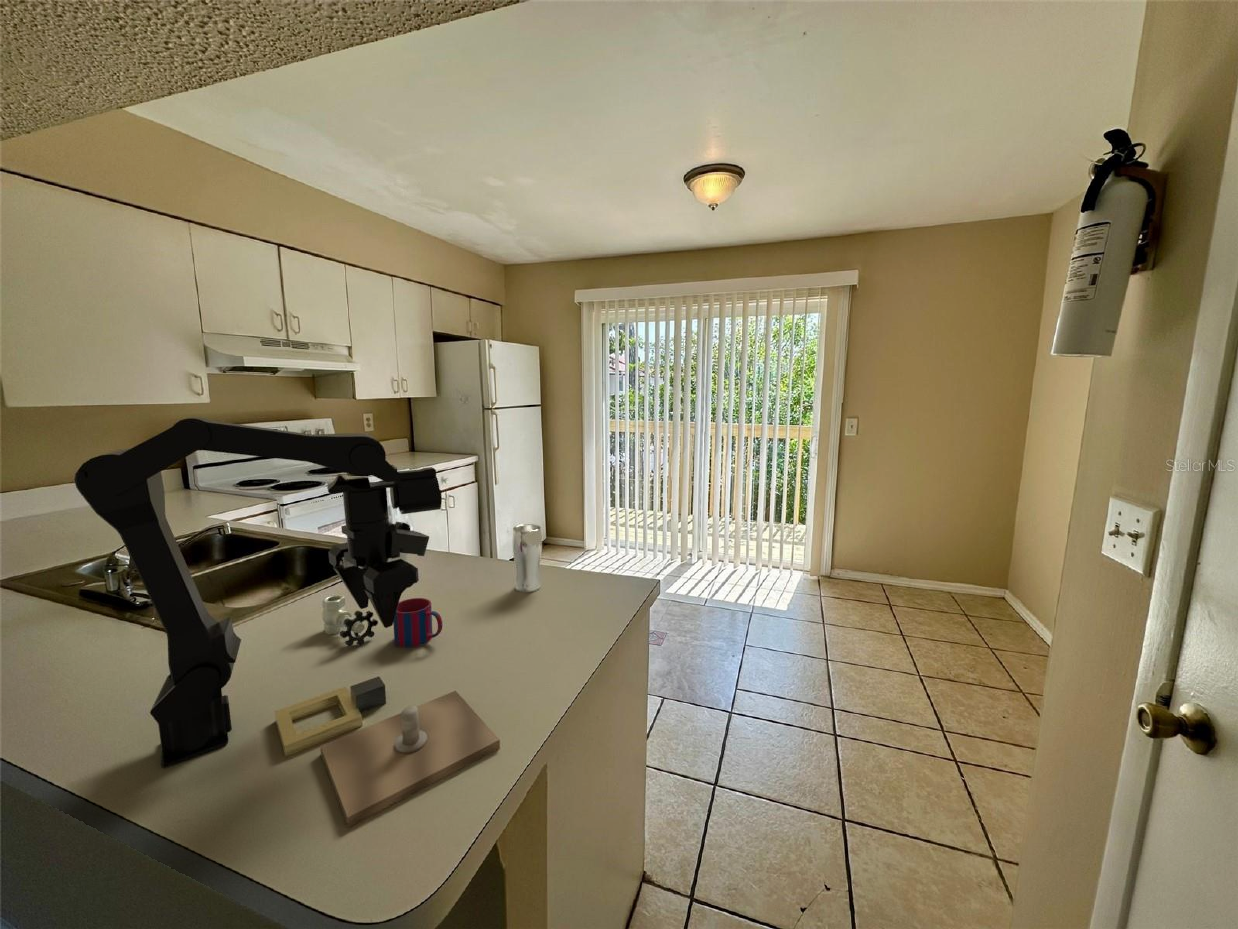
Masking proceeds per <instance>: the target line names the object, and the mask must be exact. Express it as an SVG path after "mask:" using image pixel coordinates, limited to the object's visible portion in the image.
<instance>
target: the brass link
mask: <svg viewBox="0 0 1238 929" xmlns="http://www.w3.org/2000/svg"><path fill="white" fill-rule="evenodd" d="M349 689H350V691H349ZM349 689H348V688H347V686H343V687H340V688H338V689H335V690H332V691H328V692H326V693H324V694H320V695H317V696H314V697H312V698H309V699H305V700H303V701H301V702H296V703H294V704H292V705H289V706H286V707H285V706H284V707H283V708H280V709H277V710H275V711H274V720H275V723H276V727H277V732H278V735H279V738H280V742H281V746H282V750H283V753H284V756H285V757H288V756H290V755H291V756H292V755H294V754H296V753H298V752H300V751H301V752H302V751H303V750H306V749H307V748H310V747H312V746H315V745H318V744H320V743H323V742H325V741H328V740H330V739H333V738H335V737H338V736H340V735H342V734H344V733H348V732H350V731H352V730H355V729H358V728H360V727H362V726H363V715H362V714H363V713H365V712H368V711H371V710H373V709H375V708H378V707H380V706H383V705H386V704H387V696H386V694H387V693H386V684H385V683H384V681H383V680H382V679H381V676H376V677H373V678H370V679H368V680H365V681H362V682H359V683H356V684H353V685H351V686H350V687H349ZM336 705H338V707H339V710H340V711H341V714H342V715H343V716H341V717H338V718H336V719H333V720H330V721H327V722H326V723H323V724H321V725H318V726H315V727H312V728H309V729H307V730H305V731H302V732H300V733H297V732H296V729H295V726H294V723H293V721H295V720H298V719H301V718H304V717H306V716H309V715H312V714H315V713H317V712H321V711H322V710H326V709H329V708H330V707H331V708H332V707H334V706H336Z"/></svg>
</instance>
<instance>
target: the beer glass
mask: <svg viewBox="0 0 1238 929" xmlns="http://www.w3.org/2000/svg"><path fill="white" fill-rule="evenodd" d="M512 529H513V531H512V554H513V561H514V566H515V571H516V578H515V584H514V589H515V590H516V591H517V592H519V593H520V592H521V593H533V592H536V591H538V590H540V589H541V580H540V576H539V573H540V572H539V571H540V563H541V558H542V552H543V539H542V538H543V537H542V527H541V525H538V524H533V523H527V524H518V525H516V526H514V527H513V528H512ZM537 589H538V590H537ZM535 590H536V591H535ZM532 591H533V592H532Z"/></svg>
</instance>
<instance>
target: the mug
mask: <svg viewBox="0 0 1238 929" xmlns="http://www.w3.org/2000/svg"><path fill="white" fill-rule="evenodd" d="M433 616H434V618H435V619H436V622H437V631H436V633H433ZM442 630H443V619H442V616H441V615H440V614H439V613H438V612H437V611H433V610H432V602H431V600H430V599H427V598H423V597H413V598H407V599H403V600H401V601H399V603H398V607H397V610H396V614H395V618H394V622H393V640H394V645H395V646H397V647H399V648H403V649H404V647H405V648H407V649H409V648H415V647H416V648H417V647H419V646H420V647H421V646H423V645H424V644H427V643H428V642H430V641H431V640H432V639H433V638H436V637H437V636H439V634H441V633H442Z"/></svg>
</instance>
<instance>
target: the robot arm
mask: <svg viewBox="0 0 1238 929" xmlns="http://www.w3.org/2000/svg"><path fill="white" fill-rule="evenodd" d="M197 451H207V452H208V451H209V452H215V453H222V454H223V453H225V454H226V453H227V454H234V455H241V456H242V455H243V456H253V457H259V458H260V457H261V458H271V459H278V460H290V461H298V462H307V463H309V464H310V463H311V464H314V465H319V466H321V467H325V468H327V469H330V470H333V471H338V472H341V473H346V474H349V475H353V476H356V477H353V478H346V477H344V476H343V475H342V474H341V473H338V474H337V475H336V477H335V479H334V480H333V481H332V482H331V483H329V484H328V485H327V493H328V494H331V495H332V494H333V495H334V494H341V493H342V497H343V510H344V517H345V518H344V520H345V525H341V526H340V527H341V534H343V535H346V542H343V543H339V544H338V543H337V544H333V546H332V547H331V549H329V550H328V561H329V564H330V565H332V566H333V567H332V568H333V570H334V571H335V572H336V574H337V575H338V577H339V578H340V580H341V581H342V583H343V584H344V586H345V587H346V589H347V591H348V592H349V593H350V595H351V597H352V598H353V600H354V601H355V604H356V605H357V606H358V608H359V609H361V610H364V609H367V608H369V602H370V603H371V605H372V607H373V609H374V611H375V613H376V615H377V617H378V619H379V621H380V622H381V624H382V626H383V628H385V629H388V628H390V627H392V626H394V624H393V622H394V618H395V614H396V610H397V607H398V603H399V602H400V600H401V597H402V593H403V592H404V591H406V590H407V589H408V588H411V587H412V586H413V585H414V584H417V583H418V582H419V578H420V577H419V568H417V567H416V566H415V565H413V564H411V563H410V562H409V561H408V562H406V561H404V560H402V559H398V560H394V561H390V562H387V561H388V559H389V558H392V559H393V558H397V557H400V553H408V554H409V555H410V554H411V555H417V556H419V557H424V556H425V555H426V551H427V547H428V543H429V541H430V536H429V535H426V534H424V533H423V532H420V531H415V530H411V525H410V524H409V523H406V522H401V521H396V522H395V523H393V522H390V517H389V507H388V493H387V489H389V493H390V494H389V495H390V496H389V497H390V504H391V507H392V509H393V510H394V509H395V510H397V509H398V510H399V512H400V514H401V515H406V514H413V513H414V514H415V513H423V512H430V511H436V510H437V511H438V510H441V507H442V500H443V498H442V495H443V494H442V490H441V489H440V483H439V479H438V477H437V470H436V468H434V467H432V466H431V467H428V466H427V467H423V468H420V469H411V470H410V469H409V470H399V471H398V468H397V467H396V466H395V465H394V464H391V463H390V462H389V461H388V460H387V459H386V458H387V457H386V456H387V455H386V453H387V452H386V450H385V448H384V446H383V445H382V443H381V442H380V441H379V440H377V438H375V437H373V436H371V435H370V434H367V433H359V432H356V433H354V432H353V433H348V432H347V433H344V432H343V433H323V434H322V433H319V434H318V433H317V434H316V433H314V434H311V433H304V432H297V431H289V430H282V429H275V428H267V427H262V426H260V427H259V426H254V425H253V426H252V425H246V424H245V425H244V424H241V423H239V424H238V423H233V422H231V423H230V422H224V421H219V420H218V421H216V420H211V419H209V418H206V417H201V416H191V417H188V418H183V419H181V420H179V421H177V422H176V423H174V425H172V426H171V427H169V428H168V429H166V430H164V431H161V432H160V433H158V434H156V435H154V436H153V437H151V438H148V439H147V440H145V441H142V442H140V443H139V444H136V446H132V447H131V448H124V449H123V448H122V449H116V450H113V451H109V452H107V453H103V454H101V455H98V456H94V457H92V458H89V459H88V460H86V461H85V462H84V463H82V464H81V466H80V467H79V468H78V469H77V471H76V473H75V474H74V484H75V485H74V486H75V487H76V490H78V492H79V493H80V495H81V496H82V497H83V499H84V500H85V501H86V502H87V504H88V505H89V506H90V508H91V509H92V510H93V511H94V512H95V513H96V515H97V516H98V517H100V518H101V519H102V520H103V521H104V522H106V523H107V524H108V525H110V526H111V528H113V529H114V530H115V531H117V533H118V535H119V536H120V538H121V540H122V542H123V544H124V547H125V549H126V550H127V553H128V555H129V557H130V559H131V561H132V564H133V566H134V568H135V570H136V573H138V576H139V578H140V580H141V582H142V584H143V587H144V589H145V591H146V594H147V595H148V598H149V599H150V602H151V604H152V605H153V608H154V610H155V613H156V614H157V617H158V619H159V620H160V623H161V625H162V627H163V629H164V631H165V634H166V638H167V662H168V664H167V665H168V669H169V674H168V675H166V678H165V680H164V682H163V684H162V686H161V689H160V690H159V693H158V695H157V697H156V698H155V700H154V703H153V705H152V707H151V709H150V711H149V714H150V715H151V716H152V718H153V720H154V721H155V722H156V723H157V725H158V732H159V733H158V734H159V741H160V746H161V748H160V749H161V754H160V756H161V757H160V766H161V768H166V767H169V766H172V765H174V764H177V763H180V762H184V761H185V760H189V759H191V758H194V757H197V756H199V755H201V754H205V753H207V752H210V751H213V750H215V749H219V748H221V747H223V746H226V745H227V744H229V735H228V733H230V732H231V731H232V729H233V728H232V720H231V712H230V711H231V709H230V702H229V696H228V695H226V694H225V695H223V691H222V689H223V688H224V687H225V686H226V685H227V684H228V682H229V681H230V679H231V677H232V674H233V669H234V666H235V663H236V661H237V657H238V654H239V650H240V646H241V643H242V642H241V641H242V638H240V637H239V636H238V635H237V634H236V632H235V631H234V627H233V621H232V617H231V616H230V617H227V618H225V619H222V620H221V621H218V620H217V619H216V618H214V617H213V616H212V615H211V614H210V613H209V611H208V610H207V608H206V606H205V604H204V601H203V599H202V597H201V595H200V592H199V590H198V588H197V585H196V583H195V581H194V579H193V576H192V573H191V571H190V569H189V568H188V565H187V563H186V560H185V558H184V556H183V553H182V552H181V548H180V547H179V545H178V542H177V539H176V537H175V536H174V533H173V531H172V528H171V526H170V524H169V521H168V519H167V517H166V498H165V497H166V494H165V485H164V481H163V476H162V472H163V471H164V470H166V469H168V468H170V467H172V466H173V465H174V464H176V463H178V462H180V461H182V460H183V459H185V458H187V457H189V456H191V455H192V454H194V453H195V452H197ZM370 476H373V477H375V478H377V479H378V480H382V481H370V479H369V477H370Z"/></svg>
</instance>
